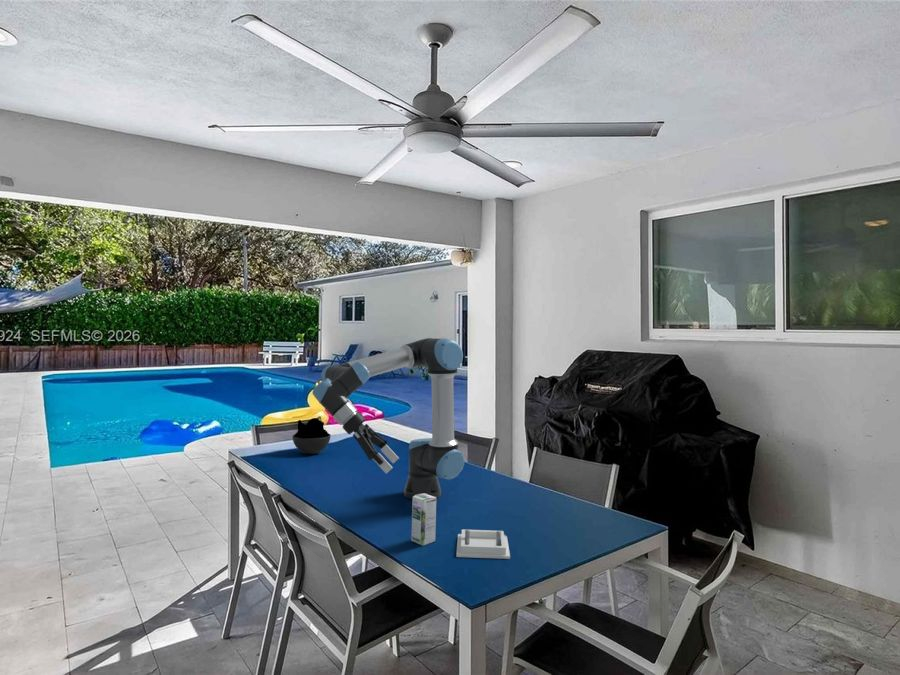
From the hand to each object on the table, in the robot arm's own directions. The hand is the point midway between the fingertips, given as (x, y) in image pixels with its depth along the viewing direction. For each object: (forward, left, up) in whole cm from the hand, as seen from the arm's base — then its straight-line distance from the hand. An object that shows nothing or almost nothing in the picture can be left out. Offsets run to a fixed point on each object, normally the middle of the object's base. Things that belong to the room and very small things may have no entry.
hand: (393, 465), depth 176 cm
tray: (+9, +30, -22) cm, 39 cm away
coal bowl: (-108, -61, -23) cm, 126 cm away
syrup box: (+6, +11, -23) cm, 26 cm away
